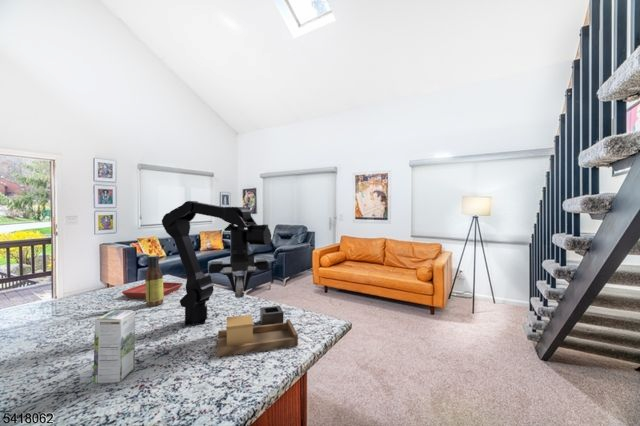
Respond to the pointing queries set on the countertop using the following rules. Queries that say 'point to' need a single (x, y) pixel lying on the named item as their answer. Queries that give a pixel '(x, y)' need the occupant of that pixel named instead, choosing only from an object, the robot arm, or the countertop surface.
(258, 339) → the bay
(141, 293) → the plant saucer
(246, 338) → the tan cardboard box
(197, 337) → the countertop surface
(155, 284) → the sauce bottle
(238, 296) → the rounded metal peg
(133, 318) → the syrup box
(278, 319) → the square hollow tube
